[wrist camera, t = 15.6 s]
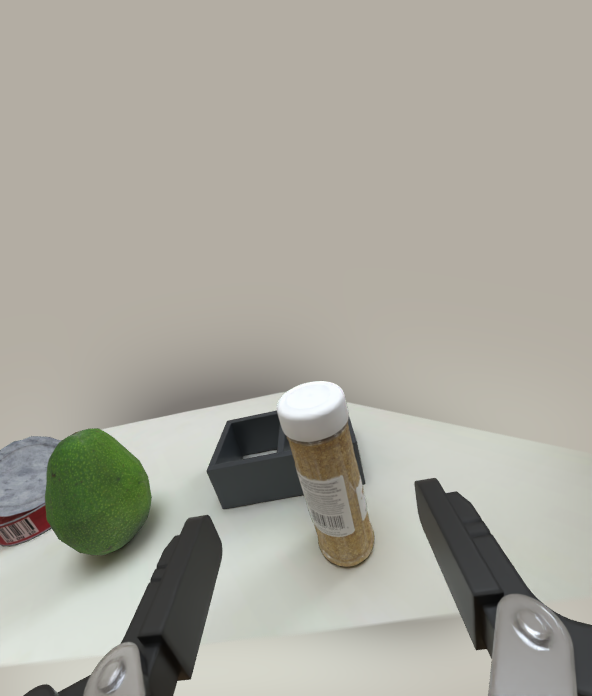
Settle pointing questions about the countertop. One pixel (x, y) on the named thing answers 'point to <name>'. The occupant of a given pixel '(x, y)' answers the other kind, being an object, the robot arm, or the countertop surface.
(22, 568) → the countertop surface
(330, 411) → the sprinkles bottle
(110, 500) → the avocado
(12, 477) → the canned food
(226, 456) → the divided storage box
